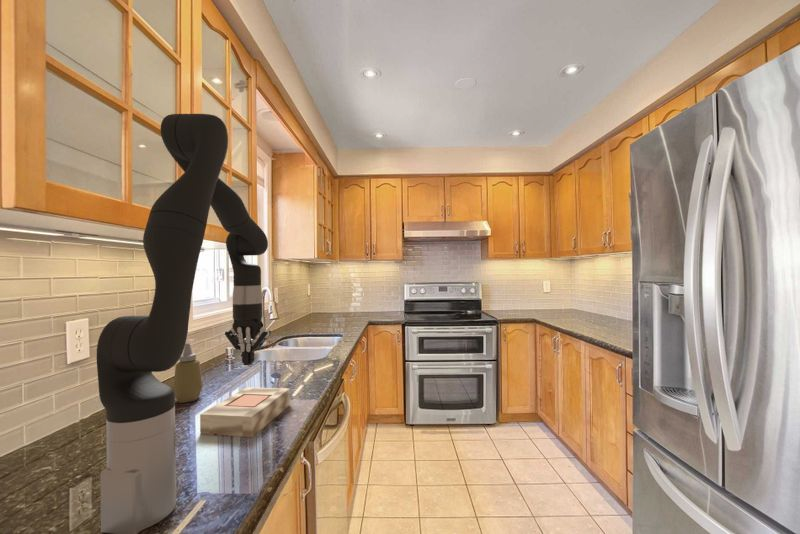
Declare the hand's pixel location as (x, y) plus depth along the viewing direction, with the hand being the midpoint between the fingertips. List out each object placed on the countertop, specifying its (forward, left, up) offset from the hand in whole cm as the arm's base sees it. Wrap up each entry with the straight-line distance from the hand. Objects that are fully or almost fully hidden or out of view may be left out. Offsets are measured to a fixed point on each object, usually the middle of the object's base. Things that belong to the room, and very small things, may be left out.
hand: (248, 364), depth 95 cm
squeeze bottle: (+11, +28, -15) cm, 34 cm away
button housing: (0, 0, -15) cm, 15 cm away
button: (0, 0, -14) cm, 14 cm away
